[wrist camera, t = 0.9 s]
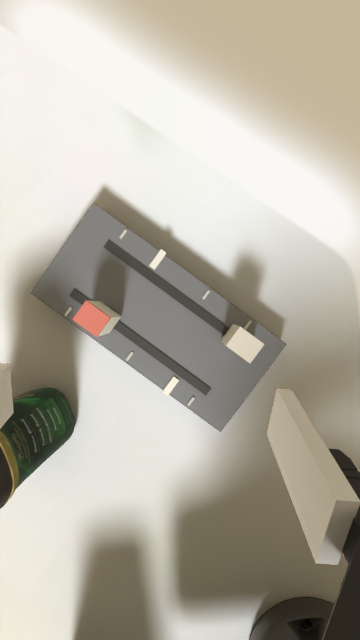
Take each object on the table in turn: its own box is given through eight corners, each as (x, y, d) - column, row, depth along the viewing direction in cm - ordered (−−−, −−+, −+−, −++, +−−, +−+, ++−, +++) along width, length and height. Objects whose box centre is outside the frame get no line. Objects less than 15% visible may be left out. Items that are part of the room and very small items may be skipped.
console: (281, 339, 41) (288, 342, 38) (217, 425, 42) (219, 434, 39) (101, 208, 42) (94, 200, 38) (40, 295, 42) (28, 294, 39)
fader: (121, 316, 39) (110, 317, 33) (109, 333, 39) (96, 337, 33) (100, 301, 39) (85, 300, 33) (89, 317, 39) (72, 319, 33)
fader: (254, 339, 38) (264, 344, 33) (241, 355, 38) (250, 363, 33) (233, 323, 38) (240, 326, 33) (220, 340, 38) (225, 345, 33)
